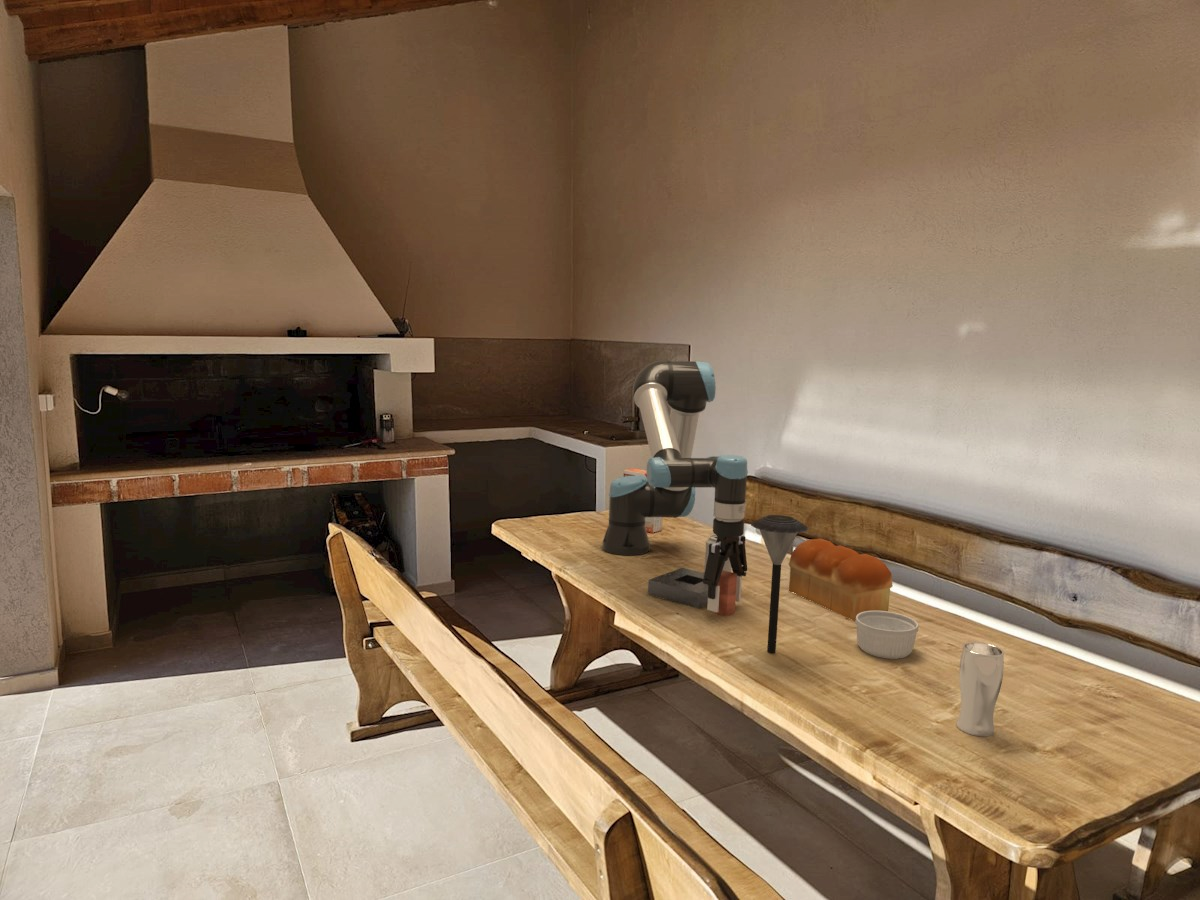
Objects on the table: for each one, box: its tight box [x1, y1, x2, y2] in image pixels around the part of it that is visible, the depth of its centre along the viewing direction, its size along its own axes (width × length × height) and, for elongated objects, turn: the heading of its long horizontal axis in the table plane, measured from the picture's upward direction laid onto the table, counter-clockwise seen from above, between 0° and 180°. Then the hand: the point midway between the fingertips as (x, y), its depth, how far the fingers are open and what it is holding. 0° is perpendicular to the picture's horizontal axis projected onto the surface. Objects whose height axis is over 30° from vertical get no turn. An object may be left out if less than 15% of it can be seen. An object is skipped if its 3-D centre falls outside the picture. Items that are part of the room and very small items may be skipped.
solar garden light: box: [750, 514, 809, 654], centre depth 176 cm, size 12×12×30 cm
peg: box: [714, 571, 737, 617], centre depth 202 cm, size 4×4×10 cm
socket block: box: [647, 567, 708, 609], centre depth 215 cm, size 16×16×4 cm
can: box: [703, 533, 732, 573], centre depth 231 cm, size 8×8×12 cm
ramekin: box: [854, 610, 919, 660], centre depth 181 cm, size 13×13×7 cm
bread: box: [788, 537, 893, 621], centre depth 212 cm, size 25×12×15 cm, turn 27°
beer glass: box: [956, 641, 1005, 738], centre depth 144 cm, size 7×7×15 cm
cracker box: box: [623, 467, 663, 534], centre depth 286 cm, size 14×6×21 cm, turn 50°
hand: (724, 605), depth 202 cm, fingers open, 10 cm apart
